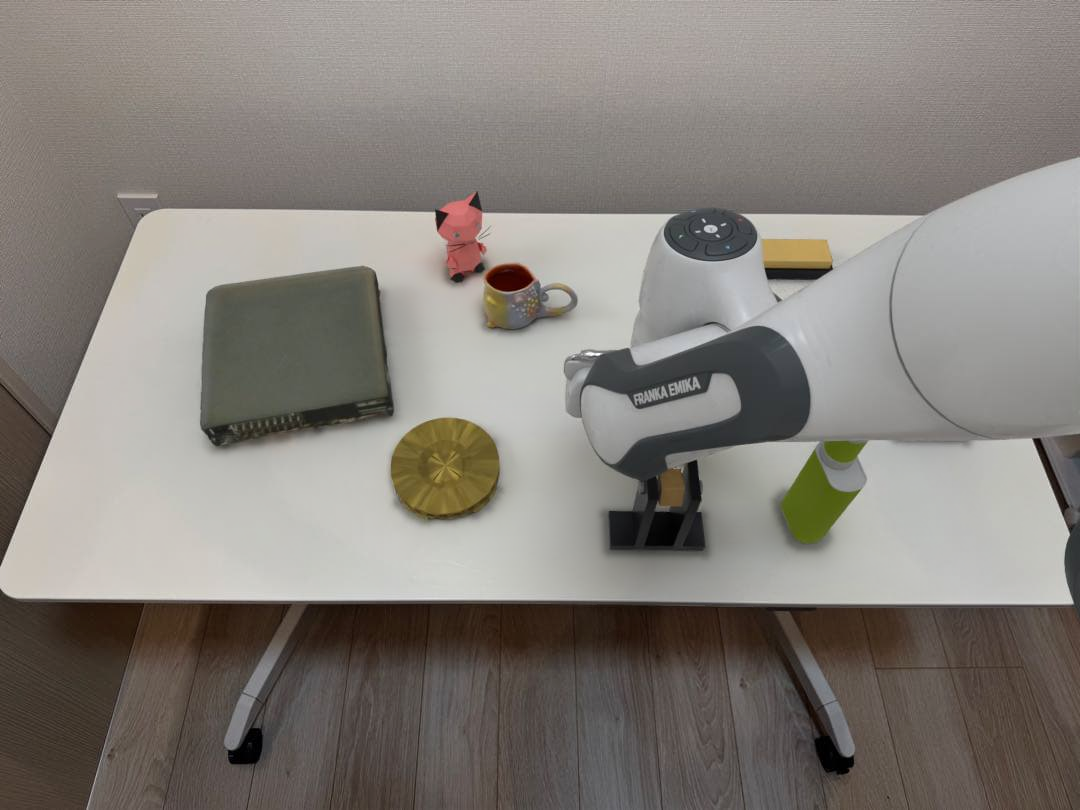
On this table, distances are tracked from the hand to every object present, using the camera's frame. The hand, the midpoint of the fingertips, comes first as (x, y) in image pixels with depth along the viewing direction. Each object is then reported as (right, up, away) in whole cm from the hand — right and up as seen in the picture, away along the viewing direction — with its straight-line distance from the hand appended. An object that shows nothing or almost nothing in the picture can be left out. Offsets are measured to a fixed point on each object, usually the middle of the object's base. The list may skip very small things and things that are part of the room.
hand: (656, 428), depth 82 cm
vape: (+16, -10, +1) cm, 19 cm away
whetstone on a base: (+19, +21, +21) cm, 36 cm away
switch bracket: (0, -11, 0) cm, 11 cm away
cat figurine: (-23, +21, +21) cm, 37 cm away
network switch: (-42, +8, +12) cm, 44 cm away
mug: (-14, +14, +16) cm, 26 cm away
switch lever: (0, -4, -5) cm, 6 cm away
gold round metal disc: (-23, -5, +4) cm, 24 cm away
